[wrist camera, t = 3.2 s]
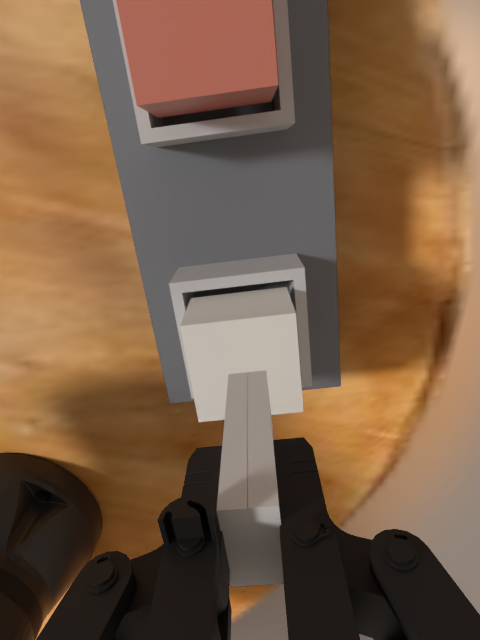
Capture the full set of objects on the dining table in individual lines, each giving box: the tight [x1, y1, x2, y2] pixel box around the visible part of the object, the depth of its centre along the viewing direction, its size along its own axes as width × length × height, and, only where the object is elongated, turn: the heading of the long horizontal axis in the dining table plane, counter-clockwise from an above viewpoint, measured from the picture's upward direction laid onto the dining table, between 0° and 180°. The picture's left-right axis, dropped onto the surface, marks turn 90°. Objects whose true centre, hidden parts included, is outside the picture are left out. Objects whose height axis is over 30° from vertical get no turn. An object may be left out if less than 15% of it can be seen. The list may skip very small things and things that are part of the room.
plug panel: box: [80, 0, 341, 404], centre depth 23 cm, size 26×12×8 cm, turn 7°
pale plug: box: [180, 287, 303, 422], centre depth 20 cm, size 5×5×4 cm
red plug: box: [116, 0, 278, 118], centre depth 15 cm, size 5×5×4 cm
